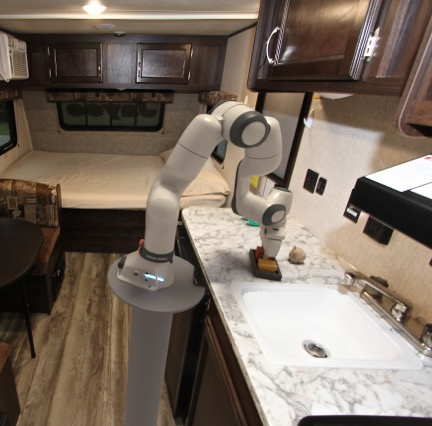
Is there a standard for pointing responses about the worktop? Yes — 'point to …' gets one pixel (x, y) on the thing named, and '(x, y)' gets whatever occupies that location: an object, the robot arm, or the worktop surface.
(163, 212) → the robot arm
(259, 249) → the orange-red rectangular block
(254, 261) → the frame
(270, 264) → the yellow-orange rectangular block
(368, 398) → the worktop surface
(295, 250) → the garlic bulb
